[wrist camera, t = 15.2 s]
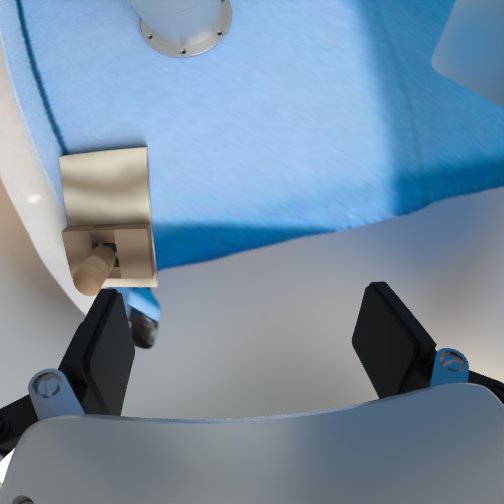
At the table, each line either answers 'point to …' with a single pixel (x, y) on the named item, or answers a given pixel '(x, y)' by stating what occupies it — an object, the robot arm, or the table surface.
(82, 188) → the subfloor panel
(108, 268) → the tan rounded cylinder
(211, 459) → the robot arm
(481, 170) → the table surface
